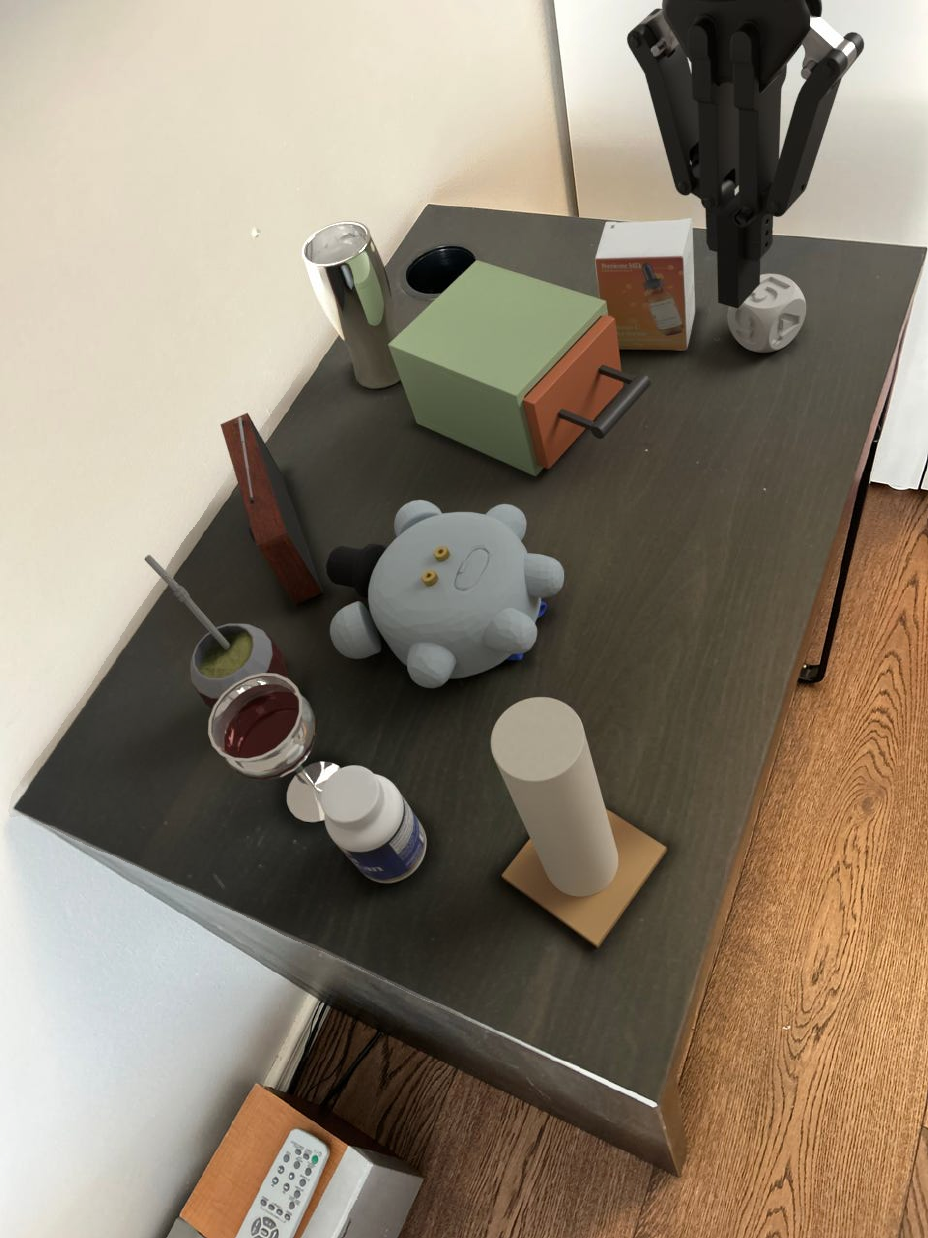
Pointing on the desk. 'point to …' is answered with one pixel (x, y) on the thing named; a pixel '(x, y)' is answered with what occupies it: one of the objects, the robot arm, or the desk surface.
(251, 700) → the wineglass
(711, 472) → the desk surface
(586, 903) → the coaster
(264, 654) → the mate gourd
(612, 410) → the drawer
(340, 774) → the pill bottle
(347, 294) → the metal tumbler
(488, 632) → the figurine
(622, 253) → the small box
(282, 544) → the radio
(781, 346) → the die
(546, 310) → the cabinet
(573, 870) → the canister
